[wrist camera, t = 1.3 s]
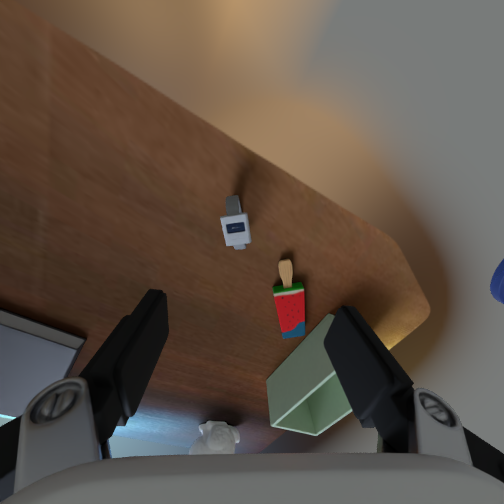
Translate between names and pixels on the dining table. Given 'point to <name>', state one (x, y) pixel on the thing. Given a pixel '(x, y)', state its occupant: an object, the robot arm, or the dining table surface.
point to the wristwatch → (235, 224)
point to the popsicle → (290, 302)
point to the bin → (307, 387)
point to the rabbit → (215, 439)
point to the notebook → (31, 359)
